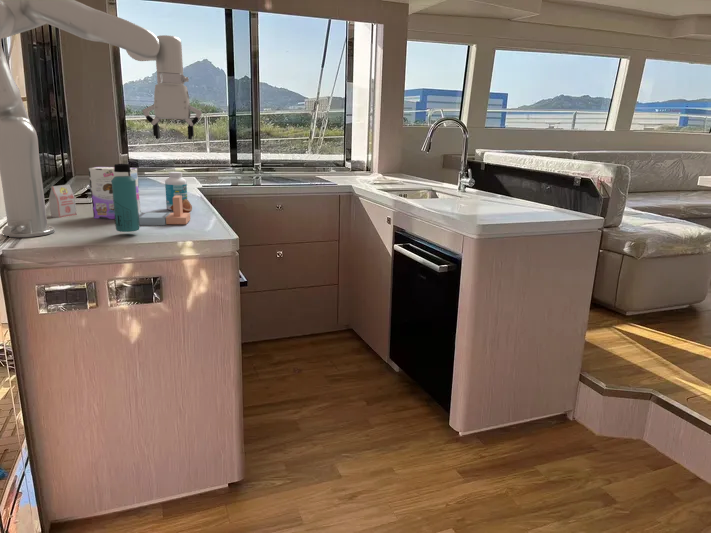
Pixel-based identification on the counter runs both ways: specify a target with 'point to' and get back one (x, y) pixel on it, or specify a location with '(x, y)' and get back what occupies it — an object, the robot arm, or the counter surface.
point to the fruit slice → (185, 206)
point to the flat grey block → (153, 218)
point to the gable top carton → (62, 201)
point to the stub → (177, 212)
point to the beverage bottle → (125, 200)
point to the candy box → (107, 190)
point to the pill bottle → (175, 188)
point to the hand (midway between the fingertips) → (174, 138)
